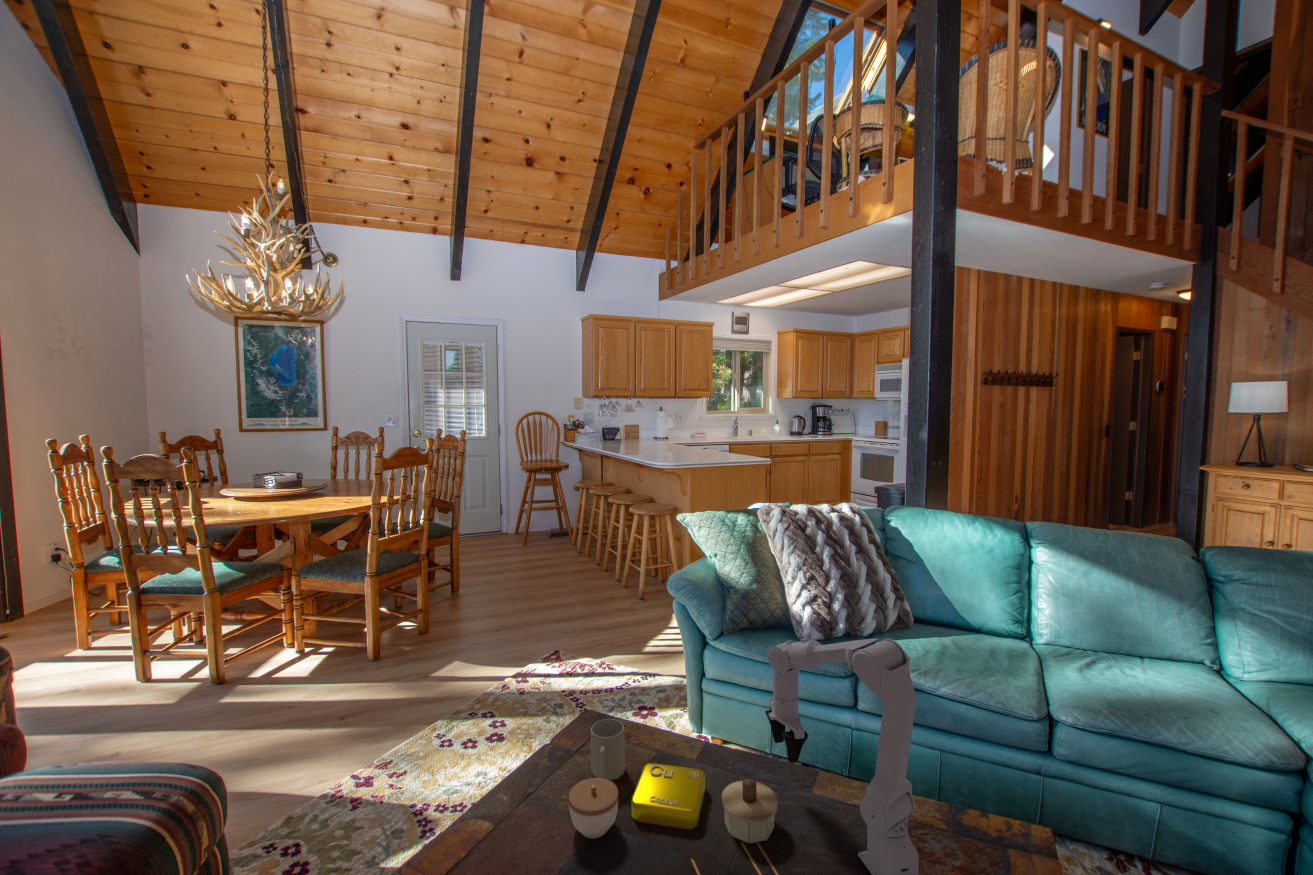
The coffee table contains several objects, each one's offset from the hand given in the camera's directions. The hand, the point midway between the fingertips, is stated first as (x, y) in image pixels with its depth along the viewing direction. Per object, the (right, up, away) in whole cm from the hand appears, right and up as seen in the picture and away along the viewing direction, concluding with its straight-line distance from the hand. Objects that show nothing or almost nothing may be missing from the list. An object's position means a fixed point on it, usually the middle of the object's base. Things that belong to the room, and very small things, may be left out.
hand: (785, 751), depth 132 cm
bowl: (-10, -11, -9) cm, 17 cm away
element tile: (-27, -12, -1) cm, 30 cm away
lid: (-10, -6, -9) cm, 15 cm away
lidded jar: (-44, -12, -9) cm, 46 cm away
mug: (-43, -11, +9) cm, 45 cm away
